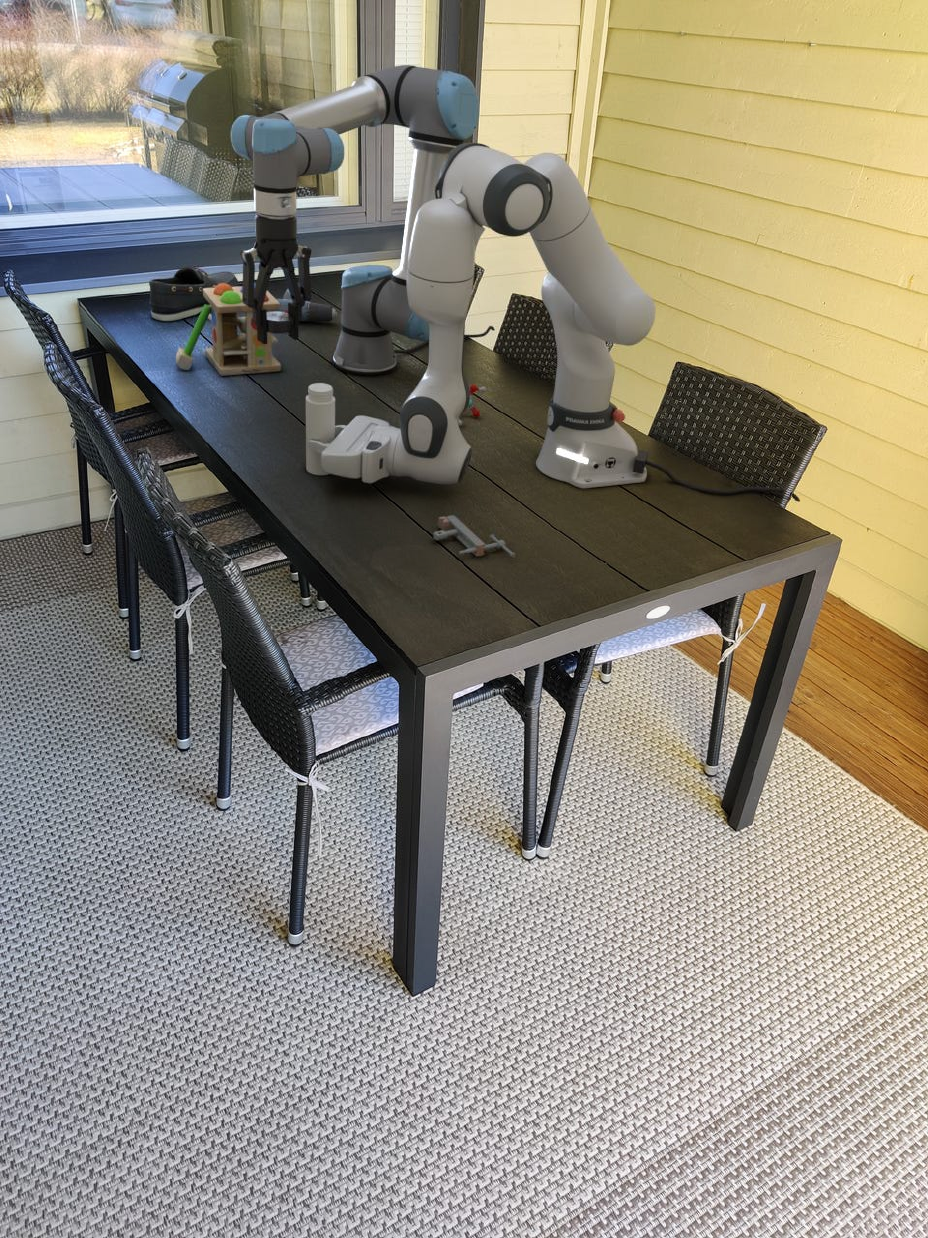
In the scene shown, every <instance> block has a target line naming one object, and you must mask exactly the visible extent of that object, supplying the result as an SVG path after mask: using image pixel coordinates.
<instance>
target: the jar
mask: <svg viewBox="0 0 928 1238" xmlns="http://www.w3.org/2000/svg"><path fill="white" fill-rule="evenodd" d="M307 392H308V394H307V395H306V396H305V468H306V471H307V472H308V473H309V474H310V475H311V474H312V475H315V476H328V475H331V474H330V473H327V472H325V471H324V470H323V469H322V468H321V454H320V453H318V452H317V451H313V450H309V449H308V442H309V441H310V440H311V439H312V438H313V439H319V440H320V442H321V443H323V444H326V443H329V444H330V443H331V442H332V441H333V440H334V439H335V438H336V436H335V426H336V397H335V396H334V388H333V386H332V385H330V384H329V383H324V382H316V383H312V384H310V385H308V388H307Z"/></svg>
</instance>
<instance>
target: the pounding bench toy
mask: <svg viewBox="0 0 928 1238" xmlns="http://www.w3.org/2000/svg"><path fill="white" fill-rule="evenodd" d="M255 285H256V282H255V284H254V289H255ZM242 290H243V285H242V286H239V287H231V286H230V285H228V284H226V283H221V284H218V285H217V286H216V287H215V288H204V289H203V296H204V297H205V299H206V300H207V301H208V302H209V304H210V305H211V307H210V306H208V305H204V307H203V309H202V311H201V312H200V313H199V316H198V318H197V320H196V322H195V324H194V327H193V329H192V331H191V332H190V333H191V334H190V336H189V338H188V340H187V343H186V344H185V347H184V348H182V347H180V346H179V347H178V349H177V351H176V354H175V357H174V358H175V362H176V365H177V366H178V368H179V369H182V370H185V371H189V370H190V369H191V367H192V365H193V363H194V356H193V351H194V348H195V347H196V345H197V342H198V340H199V337H200V336H201V333H202V332H203V329H204V326H205V325H206V322H207V320H209V321H210V322H211V336H212V337H211V338H212V339H211V340H212V348H205V349H204V352H205V353H204V355H205V357H206V359H208V361H209V363H210V364H211V365H212V366H213V367H214V369H215V370H216V371H217V372H218V374H219V375H220V376H222V377H223V376H234V375H235V376H236V375H246V374H247V375H250V374H262V373H275V372H281V370H282V364H281V363H280V362H279V360H278V359H277V358H276V357H275V356H274V355H273V348H272V347H273V345H272V344H276V343H278V342H279V341H278V339H277V338H276V337H275V336H274V334H273V333H270V332H267V344H263V343H261V342H260V341H258V340H257V326H256V325H254V323H253V310H252V308H250V307H248V306H247V305H245V304H244V303H243V302H242ZM276 299H277V298H276V297H274V296H273V295H272V294H271V293H270V292H269V290H267V292H266V296H265V300H264V304H263V308H264V309H266V310H267V312H271V310H280V303H279V302H278V301H277V300H276ZM238 313H244V314H245V315H244V316H238ZM238 329H239V331H240V333H239V334H238Z"/></svg>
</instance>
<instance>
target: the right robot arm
mask: <svg viewBox="0 0 928 1238" xmlns="http://www.w3.org/2000/svg"><path fill="white" fill-rule="evenodd" d="M437 190H438V191H439V197H438V195H437ZM435 197H436V199H434V200H431V201H429V202H427V203H425V204H424V205H422V206H421V208H420V209H419V210H418V212H417V215H416V218H415V222H414V226H413V230H412V235H411V240H410V246H409V254H408V264H407V296H408V303H409V307H410V309H411V310H412V312H413V313H414V314H415V315H416V316H417V317H418V318H420V319H421V320H423V321H425V322H428V323H429V329H430V336H429V343H428V363H427V364H428V365H427V368H426V370H425V372H424V374H423V375H422V377H421V378H420V380H419V382H418V384H417V385H416V387H415V388H414V390H413V391H412V392H411V393H410V395H408V397H407V398H406V400H405V401H404V402H403V405H402V407H401V409H400V413H399V428H398V427H395V426H393V425H390V423H389V422H388V421H387V420H383V419H381V418H376V417H372V416H368V415H356V416H355V417H354V418H353V419H351V421H350V422H349V423H348V424H347V425H346V424H338V425H335V439H334V440H333V441H332V442H331V443H330V444H329V443H326V444H323V443H321V442H320V440H319V439H313V438H312V439H311V440H310V441H309V442H308V449H309V450H313V451H317V452H318V453H320V454H321V468H322V469H323V470H324V471H325V472H327V473H330V474H329V475H332V476H333V475H334V476H338V477H342V478H348V479H360V478H361V481H362V482H363V483H366V484H373V483H375V482H377V481H379V480H382V479H384V478H387V477H389V476H393V477H398V478H399V477H400V478H401V477H409V478H412V479H414V480H416V481H419V482H424V483H429V484H437V485H456V484H458V483H460V482H462V481H461V480H462V479H463V478H464V476H465V475H466V473H467V470H468V468H469V465H470V462H471V459H472V454H473V453H472V446H471V445H470V444H469V443H468V442H467V440H466V439H465V437H464V435H463V433H462V432H461V431H462V430H461V429H460V426H458V422H457V420H458V418H459V419H460V417H461V416H462V415H463V413H464V412H466V410H467V408H468V407H467V406H468V404H469V400H470V393H471V391H470V385H469V383H468V379H467V376H466V373H465V369H464V351H465V338H464V335H466V334H465V332H466V319H467V314H468V310H469V306H470V302H471V297H472V292H473V284H474V278H475V265H476V264H475V263H476V251H477V247H478V244H479V241H480V239H481V237H482V235H483V233H484V232H485V231H486V228H488V229H490V230H492V231H493V232H495V233H497V234H498V235H501V236H505V237H510V238H511V237H521V236H524V235H527V234H529V235H530V237H531V239H532V241H533V243H534V245H535V248H536V250H537V251H538V254H539V256H540V258H541V260H542V262H543V264H544V266H545V269H546V270H547V272H546V275H545V276H544V278H543V281H542V284H541V292H540V293H541V300H542V302H543V304H544V306H545V308H546V309H547V312H548V314H549V317H550V320H551V324H552V327H553V333H554V338H555V346H556V359H557V361H556V362H557V363H556V373H555V382H554V389H553V395H552V396H551V397H550V401H549V407H548V411H547V420H546V422H547V428H546V433H545V437H544V440H543V444H542V446H541V449H540V452H539V454H538V456H537V459H536V460H535V466H536V467H537V469H538V470H539V471H540V472H541V473H542V474H544V475H546V476H548V477H550V478H552V479H555V480H557V481H561V482H566V483H567V484H570V485H572V486H574V487H576V488H578V489H591V488H592V489H593V488H599V487H600V488H602V487H611V486H619V485H628V484H637V483H644V482H646V480H647V477H648V470H647V468H646V466H649V467H651V468H654V469H655V470H656V469H657V470H658V471H661V472H663V473H664V474H665V475H666V476H667V477H668V478H669V479H670V480H671V481H672V482H673V483H676V484H678V485H681V486H682V487H686V488H688V489H691V490H694V491H697V492H701V493H707V494H716V495H734V494H739V493H744V492H771V493H773V492H774V493H783V492H784V491H783V490H782V489H783V488H781V487H761V486H747V487H746V486H745V487H740V488H733V489H714V488H706V487H701V486H696V485H693V484H690V483H687V482H685V481H682V480H680V479H679V478H678V477H677V478H676V477H675V476H674V475H673V474H672V473H671V471H669V469H667V468H665V467H664V466H662V465H659V464H657V463H655V462H652V461H649V460H648V455H649V451H647V450H642V449H638V446H637V444H636V442H635V439H634V438H633V437H632V435H630V434H629V432H628V431H626V429H624V428H623V427H622V426H621V425H620V424H621V423H623V422H624V421H626V420H625V419H626V415H625V413H624V412H623V411H622V410H621V409H618V407H617V406H616V405H615V404H614V403H613V402H611V396H612V392H613V386H614V379H615V374H616V365H615V361H614V358H613V357H612V355H611V354H610V352H609V350H608V346H607V344H606V343H609V344H615V345H621V346H626V347H628V346H629V347H630V346H635V345H637V344H639V343H641V341H644V339H645V338H647V336H648V335H649V333H650V332H651V330H652V329H653V326H654V323H655V320H656V312H657V311H656V304H655V301H654V299H653V297H651V295H649V294H648V293H647V292H646V291H645V290H644V289H643V288H642V287H641V286H640V284H639V283H638V282H637V281H636V280H635V279H634V278H633V277H632V275H631V273H630V272H629V271H628V270H627V268H626V267H625V265H624V263H623V262H622V260H621V259H620V258H619V257H618V256H617V254H616V253H615V251H614V250H613V249H612V247H611V246H610V244H609V243H608V241H607V239H606V238H605V236H604V234H603V231H602V230H601V227H600V225H599V222H598V220H597V218H596V216H595V212H594V211H593V208H592V206H591V203H590V201H589V198H588V196H587V194H586V192H585V190H584V188H583V185H582V184H581V182H580V180H579V179H578V177H577V176H576V173H575V172H574V171H573V169H572V168H571V166H570V165H569V163H568V162H567V160H565V158H563V157H562V156H561V155H559V154H557V153H554V152H542V153H538V154H536V155H533V156H531V157H530V158H529V159H527V160H526V161H524V163H523V162H521V160H519V159H517V158H515V157H514V156H511V155H510V154H508V153H507V152H503V151H500V150H497V149H494V148H492V147H490V146H488V145H486V144H483V143H479V142H463V144H460V145H458V146H456V147H455V148H454V149H453V150H451V152H450V153H449V154H448V155H447V157H446V159H445V161H444V163H443V165H442V167H441V170H440V174H439V180H438V182H437V184H436V186H435ZM485 227H486V228H485ZM792 492H793V491H791V493H790V495H789V494H787V495H788V496H789V497H791V494H792ZM783 494H784V493H783ZM791 498H792V499H793V500H794V501H796V502H797V503H798V502H801V499H800V498H799V497H798V495H797V494H796V493H794V492H793V494H792V497H791Z"/></svg>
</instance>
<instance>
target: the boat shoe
mask: <svg viewBox="0 0 928 1238" xmlns="http://www.w3.org/2000/svg"><path fill="white" fill-rule="evenodd" d="M221 283H226V284H228V285H230V286H231V287H240V285H239V280H238V278H237V277H236V275H235V274H234V273H233V272H231V271H220V272H213V273H210V274H208V273H207V272H206V271H205V270H204V269H202V268H199V267H195V266H191V265H186V266H185V265H184V266H183V267H181V268H179V269H178V270H177V271H176V272H175V273H174V274H173V277H172V276H171V277H167V278H166V277H165V278H152V279H150V280H149V281H148V285H149V291H150V292H149V302H148V306H151V309H150V313H151V317H152V318H153V319H155V320H157V321H162V322H171V321H172V322H173V321H178V320H182V319H184V318H188V317H192V316H196V315H197V314H200V313H201V311H202V309H203V307H204V305H208V306H210V307H211V305H210V304H209V302H208V301H207V300H206V299H205V297H204V296H203V289H204V288H215V287H216V286H217V285H218V284H221Z"/></svg>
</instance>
